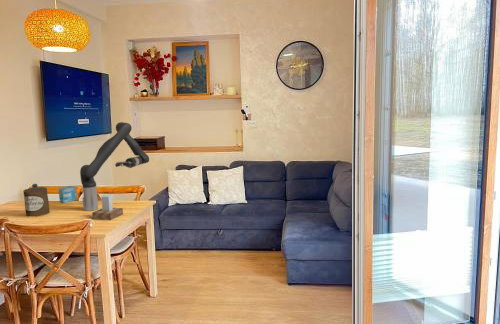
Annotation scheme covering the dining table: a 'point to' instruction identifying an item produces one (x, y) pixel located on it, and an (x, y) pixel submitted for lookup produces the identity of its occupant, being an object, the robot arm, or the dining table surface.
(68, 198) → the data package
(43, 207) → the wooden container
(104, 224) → the dining table surface
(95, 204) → the robot arm
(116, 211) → the walnut block
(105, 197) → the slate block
